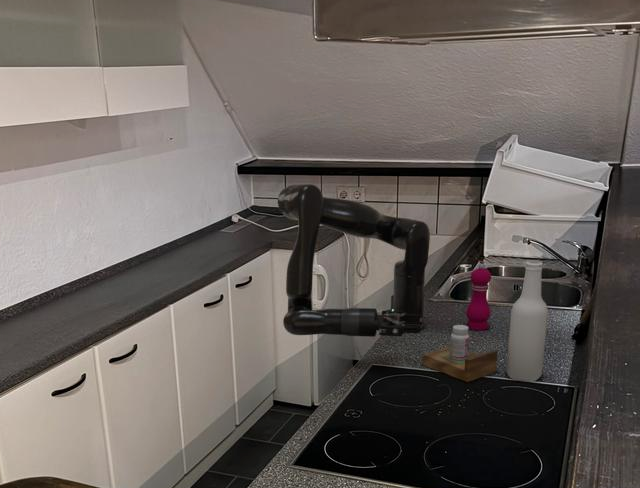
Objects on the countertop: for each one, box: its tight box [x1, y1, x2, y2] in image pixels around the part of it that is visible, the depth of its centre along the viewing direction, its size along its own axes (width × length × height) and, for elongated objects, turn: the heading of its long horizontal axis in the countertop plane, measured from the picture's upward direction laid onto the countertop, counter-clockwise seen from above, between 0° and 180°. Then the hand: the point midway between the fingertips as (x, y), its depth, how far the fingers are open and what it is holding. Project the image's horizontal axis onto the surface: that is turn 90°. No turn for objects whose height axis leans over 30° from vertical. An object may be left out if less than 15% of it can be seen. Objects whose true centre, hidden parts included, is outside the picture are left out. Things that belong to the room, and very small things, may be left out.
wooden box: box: [422, 345, 499, 383], centre depth 202 cm, size 16×11×6 cm
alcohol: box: [505, 260, 549, 382], centre depth 192 cm, size 9×9×30 cm
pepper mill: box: [465, 263, 492, 331], centre depth 231 cm, size 7×7×20 cm
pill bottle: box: [449, 324, 470, 360], centre depth 201 cm, size 5×5×8 cm
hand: (420, 323), depth 201 cm, fingers open, 8 cm apart
